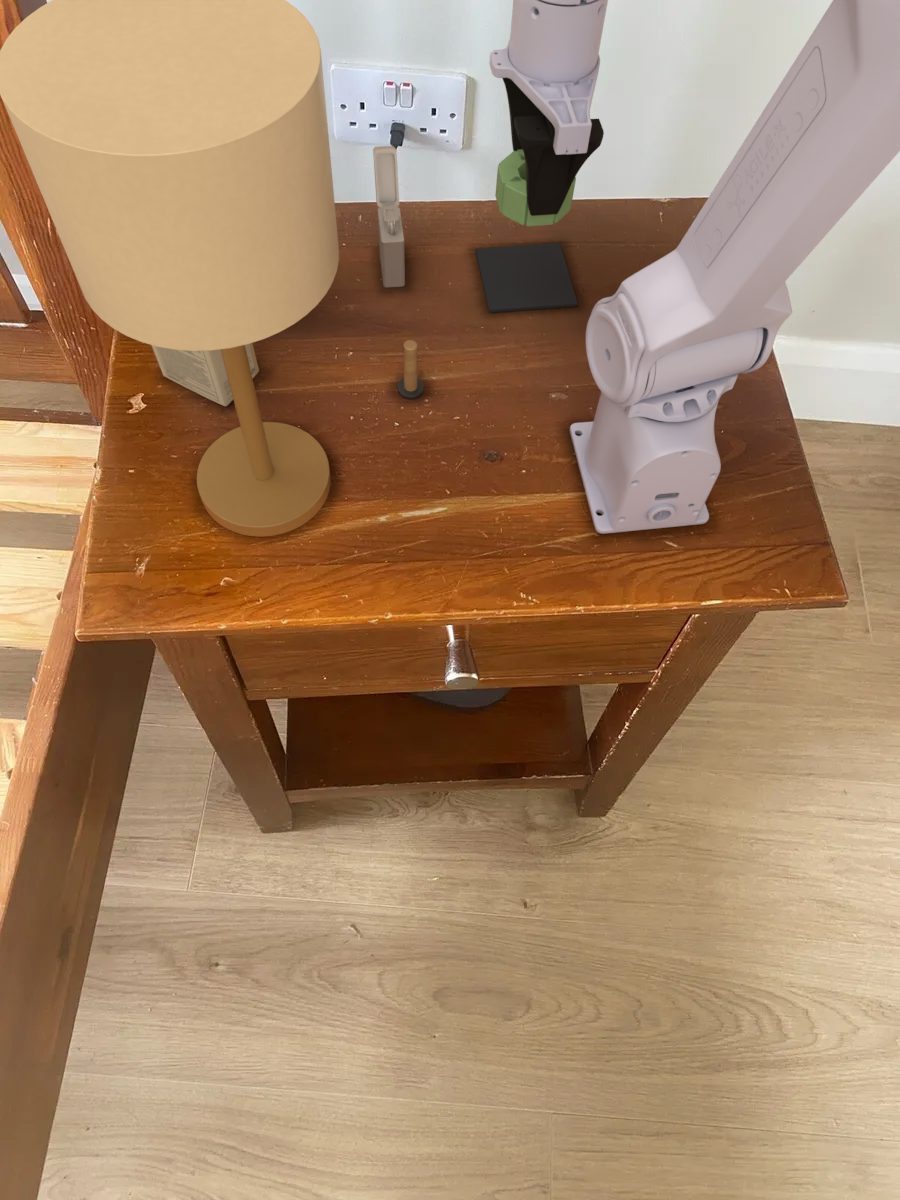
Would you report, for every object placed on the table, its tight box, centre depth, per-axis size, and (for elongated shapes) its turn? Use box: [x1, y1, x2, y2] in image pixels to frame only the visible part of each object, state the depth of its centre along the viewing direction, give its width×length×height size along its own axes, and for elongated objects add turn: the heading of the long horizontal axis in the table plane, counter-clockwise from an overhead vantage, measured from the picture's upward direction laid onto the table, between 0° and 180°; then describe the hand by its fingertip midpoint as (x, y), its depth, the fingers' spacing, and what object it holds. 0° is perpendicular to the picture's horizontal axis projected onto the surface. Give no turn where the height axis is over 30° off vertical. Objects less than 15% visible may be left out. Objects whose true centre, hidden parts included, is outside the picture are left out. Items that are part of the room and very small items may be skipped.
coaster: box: [474, 242, 578, 314], centre depth 72 cm, size 7×7×1 cm
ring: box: [494, 149, 577, 227], centre depth 65 cm, size 5×5×2 cm
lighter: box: [372, 145, 406, 288], centre depth 70 cm, size 7×2×8 cm, turn 7°
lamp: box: [0, 0, 340, 538], centre depth 49 cm, size 13×13×29 cm
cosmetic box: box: [151, 342, 260, 407], centre depth 61 cm, size 6×4×12 cm
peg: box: [396, 339, 425, 400], centre depth 64 cm, size 2×2×4 cm
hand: (535, 184), depth 65 cm, fingers closed on ring, 5 cm apart
